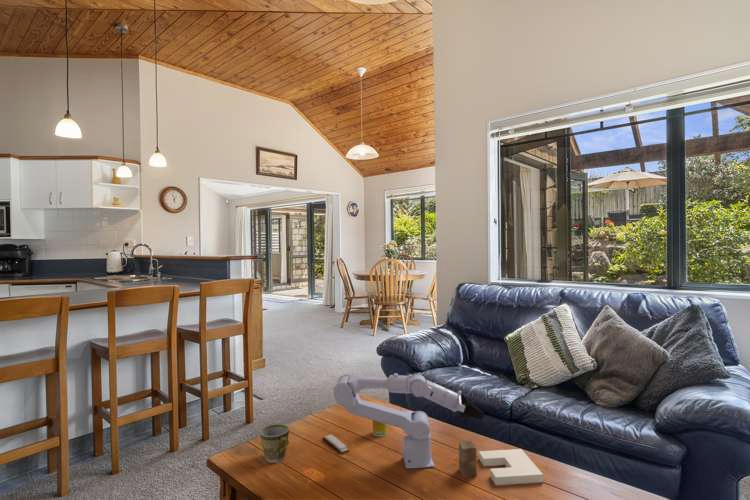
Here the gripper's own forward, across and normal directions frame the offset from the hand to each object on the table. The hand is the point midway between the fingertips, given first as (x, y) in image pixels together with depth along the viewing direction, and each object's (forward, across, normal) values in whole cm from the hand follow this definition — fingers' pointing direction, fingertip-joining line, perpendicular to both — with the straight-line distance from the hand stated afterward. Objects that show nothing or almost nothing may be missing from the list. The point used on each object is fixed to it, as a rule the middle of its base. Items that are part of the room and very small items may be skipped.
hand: (480, 413), depth 137 cm
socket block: (+15, -1, +12) cm, 19 cm away
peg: (+2, -3, +18) cm, 19 cm away
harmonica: (-40, +16, +35) cm, 55 cm away
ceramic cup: (-56, +6, +44) cm, 72 cm away
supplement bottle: (-25, +24, +27) cm, 44 cm away
